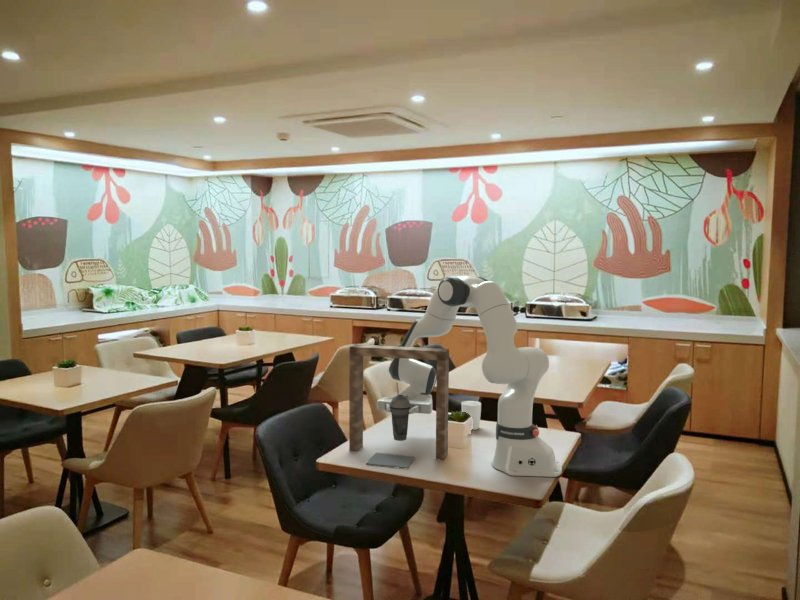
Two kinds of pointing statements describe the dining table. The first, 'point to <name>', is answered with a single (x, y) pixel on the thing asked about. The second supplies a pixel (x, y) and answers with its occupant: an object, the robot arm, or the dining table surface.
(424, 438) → the dining table surface
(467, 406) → the white cup
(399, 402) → the beverage cup
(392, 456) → the slate mat
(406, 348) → the walnut archway
